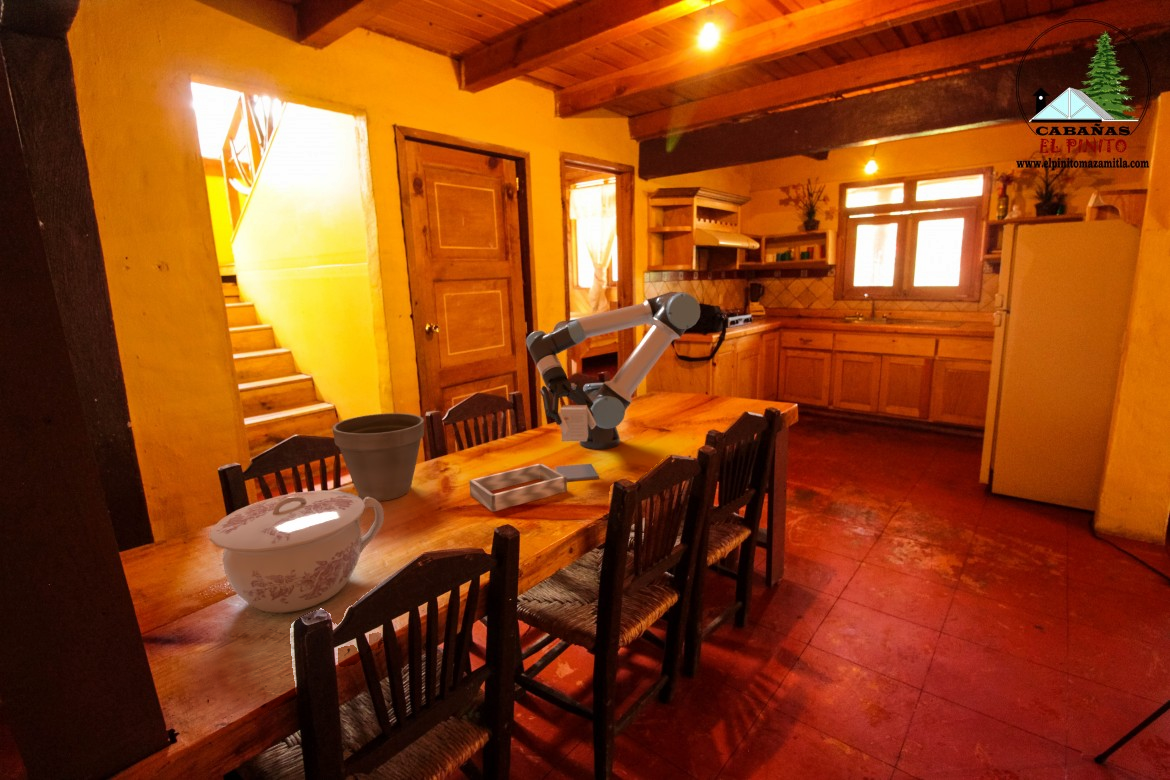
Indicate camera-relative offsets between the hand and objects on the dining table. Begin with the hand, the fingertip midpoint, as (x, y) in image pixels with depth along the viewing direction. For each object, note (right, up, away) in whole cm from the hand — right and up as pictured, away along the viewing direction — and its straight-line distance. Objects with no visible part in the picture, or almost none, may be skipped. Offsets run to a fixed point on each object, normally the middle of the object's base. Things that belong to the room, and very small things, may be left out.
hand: (580, 429), depth 172 cm
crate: (-18, -18, -10) cm, 27 cm away
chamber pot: (-56, -29, -59) cm, 87 cm away
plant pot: (-58, -18, -6) cm, 61 cm away
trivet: (-1, -15, +6) cm, 16 cm away
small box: (-2, -4, +3) cm, 5 cm away
